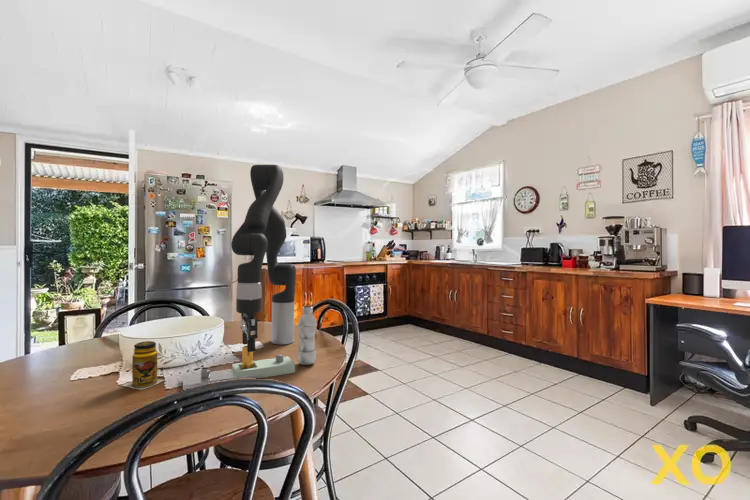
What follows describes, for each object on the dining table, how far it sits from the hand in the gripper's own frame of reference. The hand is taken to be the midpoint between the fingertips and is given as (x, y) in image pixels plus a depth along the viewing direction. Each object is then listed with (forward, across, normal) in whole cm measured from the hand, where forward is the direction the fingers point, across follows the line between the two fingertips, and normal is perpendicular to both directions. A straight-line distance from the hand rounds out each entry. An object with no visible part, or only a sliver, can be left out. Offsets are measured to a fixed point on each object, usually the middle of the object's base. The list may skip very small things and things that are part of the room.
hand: (248, 347), depth 111 cm
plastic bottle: (+9, -2, +20) cm, 22 cm away
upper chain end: (+9, 0, +5) cm, 10 cm away
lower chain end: (+9, 0, -7) cm, 11 cm away
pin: (+9, 0, 0) cm, 9 cm away
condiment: (+9, -7, -28) cm, 30 cm away
